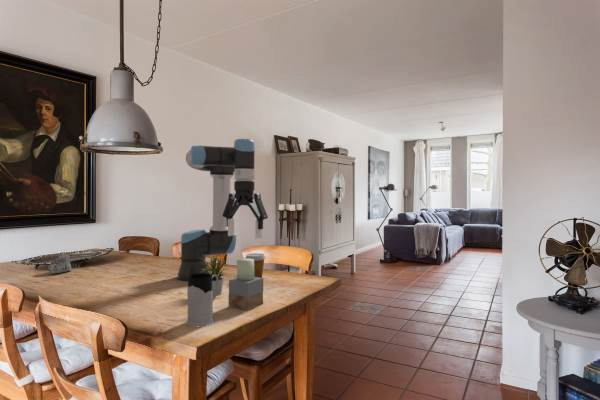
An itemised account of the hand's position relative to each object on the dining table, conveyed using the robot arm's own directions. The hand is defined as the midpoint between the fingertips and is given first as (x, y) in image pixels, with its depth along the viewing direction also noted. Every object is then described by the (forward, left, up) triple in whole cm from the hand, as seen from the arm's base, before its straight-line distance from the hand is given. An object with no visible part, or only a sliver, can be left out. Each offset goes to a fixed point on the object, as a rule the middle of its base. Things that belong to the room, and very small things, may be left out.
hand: (244, 236), depth 135 cm
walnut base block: (+2, -2, -25) cm, 26 cm away
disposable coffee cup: (-21, +32, -25) cm, 46 cm away
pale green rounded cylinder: (+2, -1, -15) cm, 16 cm away
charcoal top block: (+2, -2, -20) cm, 21 cm away
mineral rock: (-119, -11, -26) cm, 122 cm away
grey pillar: (+1, -20, -25) cm, 33 cm away
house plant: (-20, +3, -25) cm, 33 cm away
